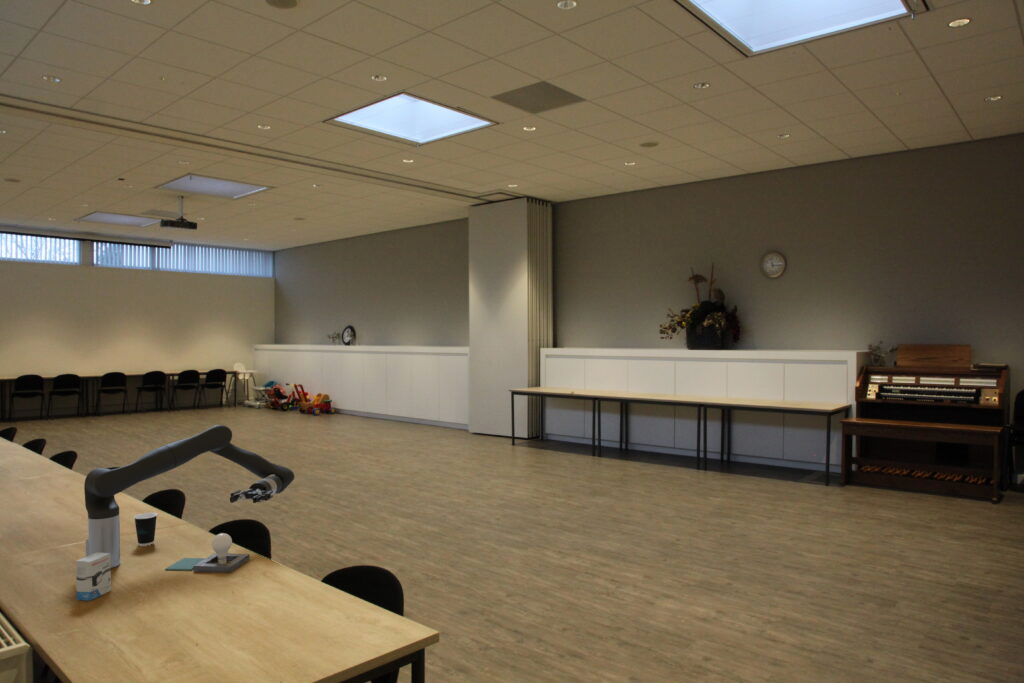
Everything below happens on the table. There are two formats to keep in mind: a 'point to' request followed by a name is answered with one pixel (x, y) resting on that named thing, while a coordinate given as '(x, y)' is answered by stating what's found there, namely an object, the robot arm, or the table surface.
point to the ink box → (93, 576)
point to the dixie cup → (145, 528)
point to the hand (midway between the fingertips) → (242, 500)
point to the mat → (185, 564)
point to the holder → (209, 565)
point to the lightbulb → (221, 546)
